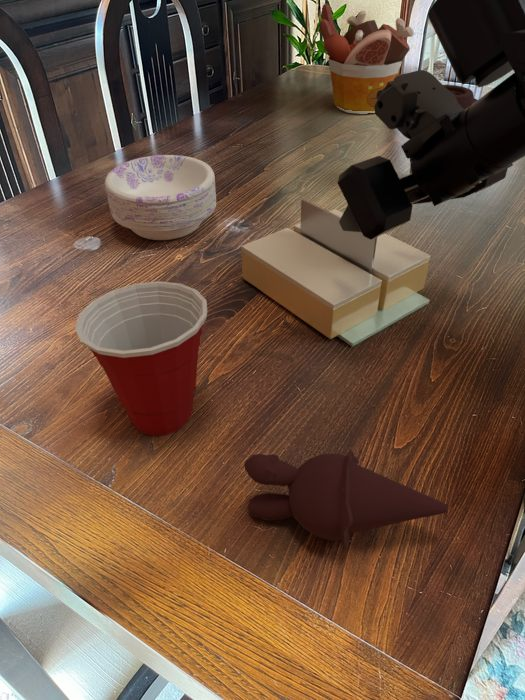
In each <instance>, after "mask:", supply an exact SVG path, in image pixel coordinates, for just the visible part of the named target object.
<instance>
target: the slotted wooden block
mask: <svg viewBox="0 0 525 700" xmlns="http://www.w3.org/2000/svg"><path fill="white" fill-rule="evenodd" d="M329 212H331V213H333V214H335V215H337V216H339V217H342V215H343V213H344V211H341V210H339V209H336V208H333V209H331V210H329ZM300 225H301V222H299V223H296V224H294V225H293V229H291V228H289V227H285V228H282V229H280V230H277V231H275V232H273V233H271V234H268V235H265V236H262V237H260V238H258V239H255V240H253V241H250V242H248V243H245V244H243V245H241V246H240V247H241V248H240V249H241V274H242V275H241V276H242V279H243V280H244V281H246V282H247V283H249V284H251V286H253V287H255V288H256V289H258V290H259V291H261V292H262V293H263V294H265V295H266V296H268V297H269V298H271V299H272V300H274V301H275V302H276V303H277V304H279V305H280V306H281V307H283V308H285V309H286V310H288V311H289V312H291V313H292V314H294V315H295V316H296V317H298V318H299V319H301V320H302V321H303V322H305V323H306V324H307V325H309V326H310V327H312V328H313V329H315V330H316V331H318V332H319V333H320V334H322V335H323V336H325V337H326V338H328V339H329V340H332V339H334V338H336V337H337V338H339V339H340V340H342V342H345V343H346V344H347V345H349V346H350V347H352V348H353V347H355V346H356V345H358V344H360V343H362V342H363V341H365V340H367V339H369V338H371V337H372V336H374V335H376V334H377V333H380V332H381V331H382V330H385V329H386V328H388V327H390V326H392V325H394V324H395V323H397V322H399V321H400V320H402V319H404V318H405V317H408V316H410V315H411V314H414V313H415V312H417V311H418V310H420V309H422V308H424V307H425V306H427V305H429V304H430V301H431V300H430V299H429V298H427V297H426V296H424V295H421V294H420V293H418V292H420V291H422V290H423V289H425V286H426V281H427V277H428V271H429V267H430V262H431V256H432V255H431V254H429V253H426V252H424V251H423V250H420V249H418V248H416V247H415V246H412V245H410V244H408V243H406V242H404V241H402V240H400V239H398V238H396V237H394V236H392V235H390V234H387V233H385V234H383V235H380V236H378V237H377V243H376V250H375V258H374V265H373V272H372V275H371V274H370V273H368V272H366V271H364V270H362V269H361V268H359V267H357V266H355V265H354V264H352V263H350V262H348V261H346V260H345V259H343V258H341V257H339V256H337V255H336V254H334V253H332V252H330V251H329V250H327V249H325V248H323V247H321V246H320V245H318V244H316V243H314V242H312V241H311V240H309V239H307V238H305V237H304V236H302V235H300Z"/></svg>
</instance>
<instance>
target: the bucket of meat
mask: <svg viewBox="0 0 525 700" xmlns="http://www.w3.org/2000/svg"><path fill="white" fill-rule="evenodd" d="M366 16H367V12H366V10H361V11H359V12H357V15H356V16H354V15H351V16H349V17H348V18H347V20H346V24H348V25H352V26H353V27H351V28H350V29H349V30H347V31H345V34H344V35H342V34H339V33H338V30H337V28H336V25H335V23H334V17H333V12H332V8H331V6H330V5H329V3H324V4H323V5H322V7H321V11H320V18H321V20H320V21H319V23H318V27H319V31H320V34H321V37H322V40H323V48H324V50H325V51H326V54H327V55H328V65H329V71H330V72H329V73H330V81H331V87H332V95H333V103H334V106H335V107H336V106H338V107H340V108H342V109H344V110H352V111H375V109H374V106H375V103H376V101H377V96H376V95H377V92H378V91H379V90H382V89H384V88H385V86H386V85H387V83H388V82H390V81H393V80H394V78H395V77H396V76H398V75H399V70H400V68H401V67H402V63H403V60H404V59H405V57H406V56H407V54H408V53H409V51H410V49H411V48H410V46H409V44H408V41H407V40H406V39H405V38H411V37H413V36H414V34H415V32H414V29H413V28H412V27H411V26H406V22H405V20H404V19H403V18H400V17H397V18H396V19H395V28H394V27H392V26H391V25H390V24H385V23H382V24H381V25H380V27H378V24H377V22H376V20H375V19H372V20H367V21H366V20H365V18H366Z"/></svg>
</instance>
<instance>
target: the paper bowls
mask: <svg viewBox="0 0 525 700" xmlns="http://www.w3.org/2000/svg"><path fill="white" fill-rule="evenodd" d="M104 188H105V191H106V197H107V203H108V206H109V210H110V215H111V217H112V219H113V220H114V221H115V222H116V223H117V224H118V225H120V226H122V227H123V228H127V229H130V230H131V231H132V232H133V233H134V234H136V235H137V236H139V237H141V238H144V239H147V240H153V241H171V240H175V239H180V238H183V237H186V236H188V235H190V234H192V233H193V232H194V231H196V230H197V229H198V228H199V227H200V225H201V224H202V222H203V221H204V220H206V219H207V218H208V217H210V216H211V215H212V214H213V213H214V212H215V210H216V207H217V191H216V190H217V189H216V177H215V172H214V170H213V168H212V166H210V165H209V164H208V163H207V162H204V161H203V160H200V159H198V158H195V157H191V156H187V155H180V154H179V155H178V154H157V155H148V156H143V157H138V158H134V159H131V160H128V161H125V162H123V163H121V164H118V165H117V166H115V167H113V168H112V169H111V170H110V171H109V172H108V173H107V175H106V176H105V179H104Z"/></svg>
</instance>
